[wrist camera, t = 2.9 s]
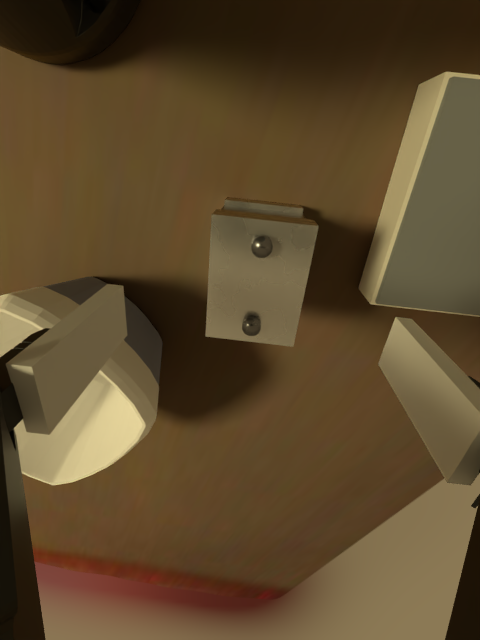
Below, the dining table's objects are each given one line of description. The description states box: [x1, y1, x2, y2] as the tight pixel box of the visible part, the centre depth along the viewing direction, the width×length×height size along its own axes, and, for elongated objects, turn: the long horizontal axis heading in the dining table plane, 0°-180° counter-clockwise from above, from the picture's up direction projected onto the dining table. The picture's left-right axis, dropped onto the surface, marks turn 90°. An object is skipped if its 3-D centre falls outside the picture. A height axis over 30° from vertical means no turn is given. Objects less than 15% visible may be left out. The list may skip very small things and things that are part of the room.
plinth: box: [358, 72, 480, 317], centre depth 23 cm, size 11×15×4 cm
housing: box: [205, 197, 319, 347], centre depth 23 cm, size 6×8×10 cm
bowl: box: [0, 277, 163, 485], centre depth 27 cm, size 15×15×11 cm
